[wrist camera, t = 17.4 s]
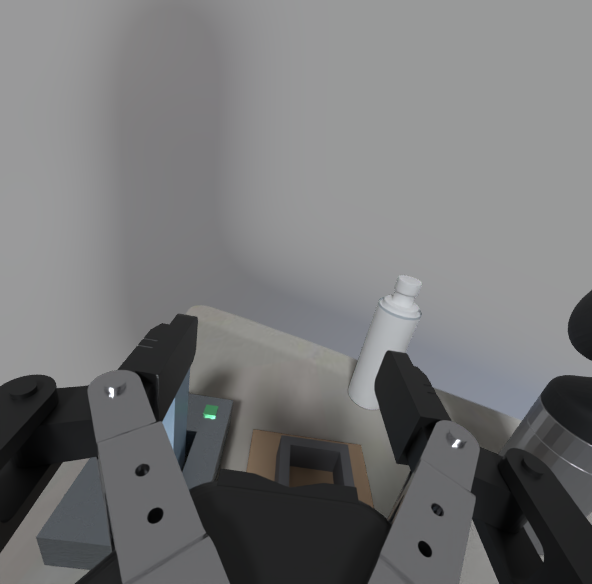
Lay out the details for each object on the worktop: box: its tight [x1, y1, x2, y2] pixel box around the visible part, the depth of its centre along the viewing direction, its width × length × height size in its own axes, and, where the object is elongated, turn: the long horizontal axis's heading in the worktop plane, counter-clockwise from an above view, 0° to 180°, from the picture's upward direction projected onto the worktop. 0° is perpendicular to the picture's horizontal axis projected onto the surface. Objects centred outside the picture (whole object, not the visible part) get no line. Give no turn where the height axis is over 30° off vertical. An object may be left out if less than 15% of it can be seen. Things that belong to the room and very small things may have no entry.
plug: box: [162, 368, 190, 471], centre depth 32 cm, size 4×4×19 cm
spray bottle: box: [348, 275, 422, 410], centre depth 50 cm, size 7×7×25 cm
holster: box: [246, 429, 374, 508], centre depth 36 cm, size 16×16×5 cm
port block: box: [36, 394, 233, 570], centre depth 35 cm, size 18×13×5 cm
